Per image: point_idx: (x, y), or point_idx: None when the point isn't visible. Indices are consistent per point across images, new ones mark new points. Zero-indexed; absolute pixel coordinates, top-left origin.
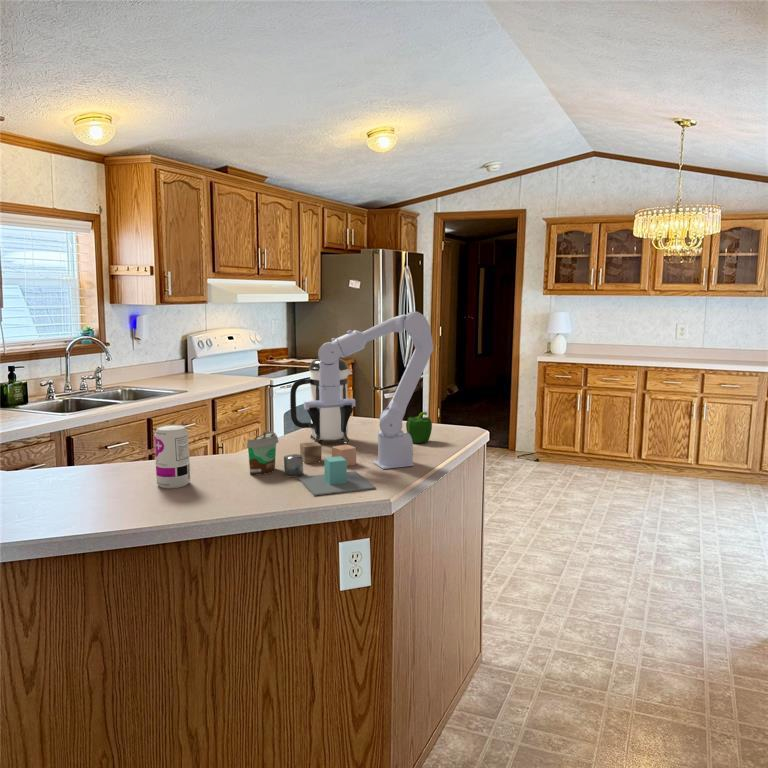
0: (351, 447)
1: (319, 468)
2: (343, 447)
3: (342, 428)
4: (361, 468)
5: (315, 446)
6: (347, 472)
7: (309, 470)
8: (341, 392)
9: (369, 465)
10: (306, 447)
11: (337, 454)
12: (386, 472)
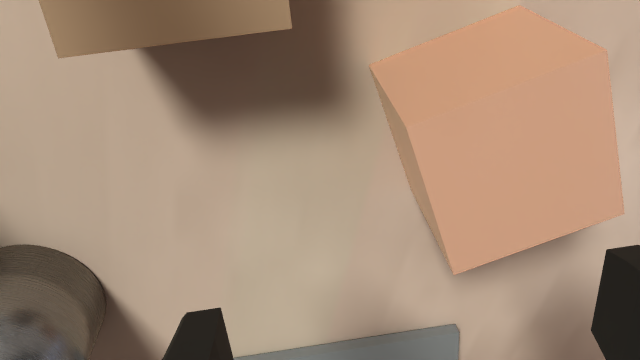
0: (587, 198)
1: (237, 187)
2: (514, 180)
3: (628, 341)
4: None
5: (213, 38)
6: (401, 351)
7: (153, 222)
8: None
9: None
10: (90, 51)
11: (419, 188)
12: None
